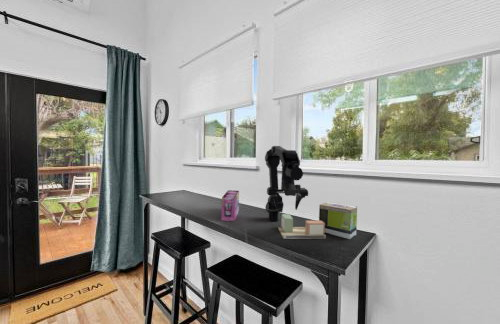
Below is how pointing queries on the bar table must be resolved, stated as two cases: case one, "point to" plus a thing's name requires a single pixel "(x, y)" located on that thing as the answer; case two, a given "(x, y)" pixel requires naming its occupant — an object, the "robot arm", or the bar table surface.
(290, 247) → the bar table surface
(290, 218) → the sage carton
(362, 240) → the bar table surface
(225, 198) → the gum box
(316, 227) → the pink box
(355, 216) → the tea box
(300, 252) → the bar table surface
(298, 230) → the shelf board
